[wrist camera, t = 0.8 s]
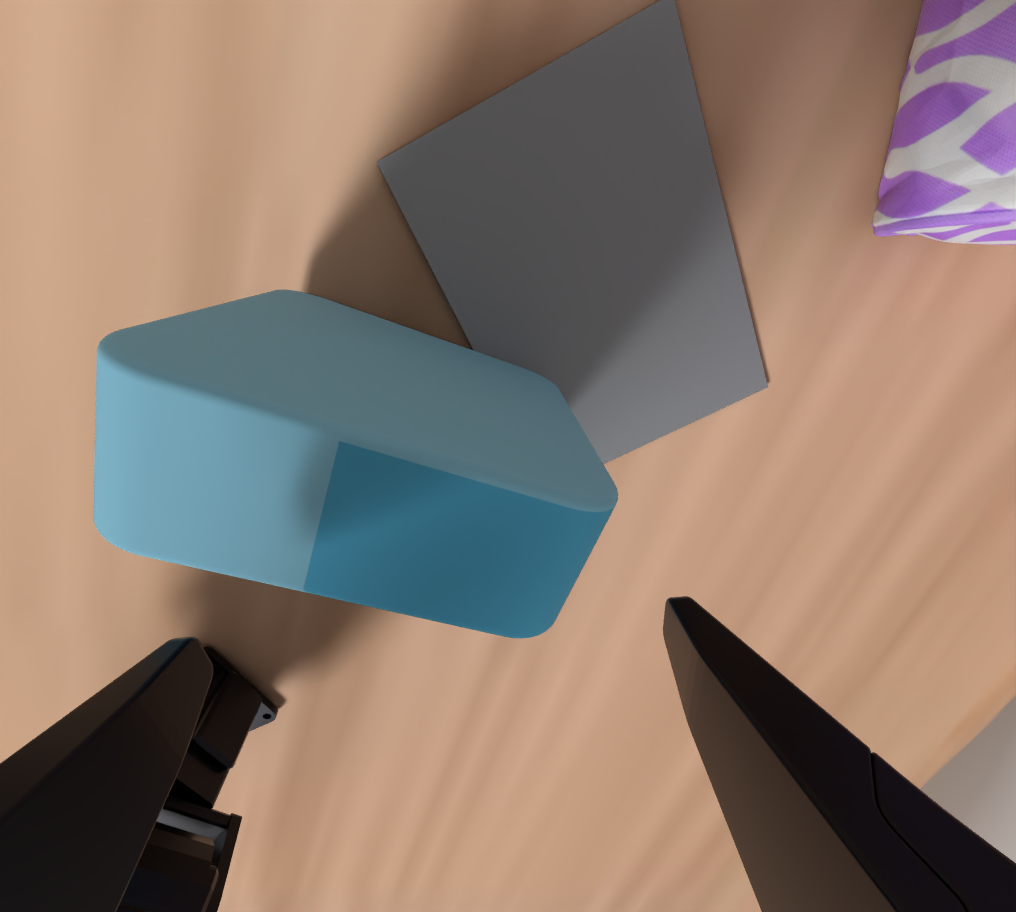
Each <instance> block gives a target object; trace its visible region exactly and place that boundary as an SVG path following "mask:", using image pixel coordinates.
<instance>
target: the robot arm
mask: <svg viewBox="0 0 1016 912" xmlns="http://www.w3.org/2000/svg"><path fill="white" fill-rule="evenodd" d="M663 635H664V640H665V644H666V648H667V651H668V655H669V659H670V662H671V666H672V669H673V673H674V677H675V680H676V684H677V687H678V691H679V695H680V698H681V702H682V705H683V709H684V712H685V716H686V719H687V722H688V725H689V728H690V730H691V733H692V736H693V738H694V741H695V743H696V746H697V749H698V751H699V754H700V756H701V759H702V761H703V764H704V766H705V769H706V771H707V774H708V776H709V779H710V782H711V784H712V787H713V789H714V792H715V794H716V797H717V799H718V802H719V804H720V807H721V809H722V812H723V814H724V817H725V820H726V822H727V825H728V827H729V830H730V832H731V835H732V837H733V840H734V842H735V845H736V847H737V850H738V852H739V855H740V858H741V860H742V863H743V865H744V868H745V870H746V873H747V875H748V878H749V880H750V883H751V885H752V888H753V890H754V893H755V896H756V898H757V901H758V903H759V906H760V908H761V911H762V912H1016V863H1015V862H1013V861H1012V860H1010V859H1009V858H1008V857H1007V856H1005V855H1004V854H1003V853H1001V852H1000V851H998V850H997V849H996V848H994V847H993V846H992V845H990V844H989V843H988V842H986V841H985V840H984V839H983V838H981V837H980V836H979V835H977V834H976V833H975V832H973V831H972V830H971V829H969V828H968V827H967V826H966V825H964V824H963V823H962V822H960V821H959V820H958V819H956V818H955V817H954V816H952V815H951V814H950V813H948V812H947V811H946V810H945V809H943V808H942V807H941V806H940V805H938V804H937V803H936V802H935V801H933V800H932V799H931V798H930V797H928V796H927V795H926V794H925V793H923V792H922V791H921V790H920V789H919V788H917V787H916V786H915V785H914V784H912V783H911V782H910V781H909V780H908V779H906V778H905V777H904V776H903V775H901V774H900V773H899V772H898V771H897V770H895V769H894V768H893V767H892V766H891V765H889V764H888V763H887V762H886V761H885V760H884V759H882V758H881V757H880V756H879V755H878V754H876V753H874V752H872V753H871V751H870V748H869V747H868V746H867V745H865V744H864V743H863V742H862V741H861V740H860V739H858V738H857V737H856V736H855V735H854V734H852V733H851V732H850V731H849V730H848V729H846V728H845V727H844V726H843V725H842V724H840V723H839V722H838V721H837V720H836V719H835V718H833V717H832V716H831V715H830V714H829V713H827V712H826V711H825V710H824V709H823V708H821V707H820V706H819V705H818V704H817V703H816V702H814V701H813V700H812V699H811V698H810V697H808V696H807V695H806V694H805V693H804V692H802V691H801V690H800V689H799V688H798V687H797V686H795V685H794V684H793V683H792V682H791V681H789V680H788V679H787V678H786V677H785V676H783V675H782V674H781V673H780V672H779V671H778V670H776V669H775V668H774V667H773V666H772V665H770V664H769V663H768V662H767V661H766V660H764V659H763V658H762V657H761V656H760V655H759V654H757V653H756V652H755V651H754V650H753V649H751V648H750V647H749V646H748V645H747V644H745V643H744V642H743V641H742V640H741V639H740V638H738V637H737V636H736V635H735V634H734V633H732V632H731V631H730V630H729V629H728V628H726V627H725V626H724V625H723V624H722V623H721V622H719V621H718V620H717V619H716V618H715V617H713V616H712V615H711V614H710V613H709V612H707V611H706V610H705V609H704V608H703V607H702V606H700V605H699V604H698V603H697V602H696V601H694V600H693V599H692V598H690V597H687V596H684V597H671V598H668V599H667V601H666V605H665V614H664V624H663ZM277 713H278V709H277V708H276V707H275V706H274V705H273V704H272V703H271V702H270V701H269V700H268V699H267V698H266V697H265V696H264V695H262V694H261V693H260V692H259V691H258V690H257V689H256V688H255V687H254V686H253V685H252V684H251V683H250V682H248V681H247V680H246V679H245V678H244V677H243V676H242V675H241V674H240V673H239V672H238V671H237V670H236V669H234V668H233V667H232V666H231V665H230V664H229V663H228V662H227V661H226V660H225V659H224V658H223V657H222V656H220V655H219V654H218V653H217V652H216V651H215V650H214V649H212V648H210V647H202V645H201V643H200V642H199V640H198V639H196V638H194V637H184V638H174V639H171V640H169V641H167V642H166V643H165V644H163V645H162V646H160V647H159V648H158V649H156V650H155V651H154V652H152V653H151V654H150V655H148V656H147V657H145V658H144V659H143V660H141V661H140V662H139V663H137V664H136V665H135V666H133V667H132V668H130V669H129V670H128V671H126V672H125V673H124V674H122V675H121V676H119V677H118V678H117V679H115V680H114V681H113V682H111V683H110V684H108V685H107V686H106V687H104V688H103V689H102V690H100V691H99V692H98V693H96V694H95V695H93V696H92V697H91V698H89V699H88V700H87V701H85V702H84V703H82V704H81V705H80V706H78V707H77V708H76V709H74V710H73V711H72V712H70V713H69V714H67V715H66V716H65V717H63V718H62V719H61V720H59V721H58V722H56V723H55V724H54V725H52V726H51V727H50V728H48V729H47V730H46V731H44V732H43V733H41V734H40V735H39V736H37V737H36V738H35V739H33V740H32V741H30V742H29V743H28V744H26V745H25V746H24V747H22V748H21V749H19V750H18V751H17V752H15V753H14V754H13V755H11V756H10V757H9V758H7V759H6V760H4V761H3V762H2V763H0V912H217V910H218V907H219V904H220V900H221V897H222V893H223V889H224V886H225V882H226V878H227V874H228V870H229V866H230V862H231V858H232V854H233V851H234V847H235V843H236V839H237V835H238V831H239V827H240V823H241V819H242V816H239V815H236V814H233V813H232V814H230V815H229V814H226V813H223V812H220V811H217V810H214V809H212V808H213V806H214V804H215V802H216V799H217V797H218V795H219V793H220V790H221V788H222V786H223V783H224V781H225V779H226V777H227V774H228V772H229V770H230V768H233V766H234V765H235V762H236V760H237V758H238V755H239V753H240V751H241V749H242V746H243V744H244V742H245V739H246V737H247V735H248V732H249V731H251V730H254V729H256V728H258V727H260V726H263V725H265V724H267V723H269V722H272V721H273V720H275V718H276V716H277Z"/></svg>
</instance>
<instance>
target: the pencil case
mask: <svg viewBox="0 0 1016 912" xmlns="http://www.w3.org/2000/svg"><path fill="white" fill-rule="evenodd" d="M878 195H879V204H878V206H877V208H876V210H875V213H874V217H873V221H872V227H873V228H874V234H875V235H876V236H893V235H903V234H905V235H921V236H923V237H926V238H929V239H933V240H938V241H942V242H950V243H966V244H990V245H1016V0H923V4H922V9H921V13H920V17H919V21H918V25H917V30H916V34H915V38H914V42H913V46H912V49H911V52H910V55H909V59H908V62H907V66H906V72H905V75H904V77H903V80H902V83H901V86H900V97H899V105H898V110H897V112H896V115H895V119H894V124H893V130H892V135H891V140H890V144H889V149H888V154H887V158H886V163H885V167H884V172H883V175H882V179H881V182H880V186H879V193H878Z"/></svg>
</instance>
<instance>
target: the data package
mask: <svg viewBox="0 0 1016 912" xmlns="http://www.w3.org/2000/svg"><path fill="white" fill-rule="evenodd" d="M617 500H618V492H617V488H616V486H615V484H614V482H613V480H612V478H611V477H610V475H609V473H608V472H607V470H606V468H605V467H604V465H603V463H602V461H601V460H600V458H599V456H598V455H597V453H596V451H595V449H594V448H593V446H592V444H591V443H590V441H589V439H588V438H587V436H586V434H585V432H584V431H583V429H582V427H581V426H580V424H579V422H578V421H577V419H576V417H575V415H574V414H573V412H572V410H571V409H570V407H569V405H568V404H567V402H566V400H565V398H564V397H563V395H562V393H561V392H560V390H559V388H558V387H557V386H556V385H555V384H554V383H552V382H551V381H550V380H548V379H546V378H545V377H543V376H541V375H539V374H537V373H534V372H532V371H530V370H527V369H525V368H522V367H519V366H516V365H513V364H511V363H508V362H505V361H502V360H499V359H496V358H493V357H491V356H488V355H485V354H482V353H479V352H476V351H473V350H471V349H468V348H465V347H462V346H459V345H456V344H453V343H451V342H448V341H445V340H442V339H439V338H436V337H434V336H431V335H428V334H425V333H422V332H419V331H416V330H414V329H411V328H408V327H405V326H402V325H399V324H396V323H394V322H391V321H388V320H385V319H382V318H379V317H376V316H374V315H371V314H368V313H365V312H362V311H359V310H357V309H354V308H351V307H348V306H345V305H342V304H339V303H337V302H334V301H331V300H328V299H325V298H322V297H319V296H315V295H311V294H308V293H303V292H298V291H292V290H275V291H271V292H267V293H263V294H259V295H255V296H251V297H248V298H244V299H240V300H236V301H232V302H228V303H224V304H220V305H216V306H212V307H208V308H204V309H200V310H196V311H192V312H189V313H185V314H181V315H177V316H173V317H169V318H165V319H161V320H157V321H153V322H149V323H145V324H141V325H137V326H133V327H130V328H126V329H122V330H118V331H115V332H113V333H111V334H109V335H107V336H106V337H105V338H103V339H102V340H101V341H100V343H99V345H98V348H97V374H96V419H95V464H94V510H93V516H94V523H95V526H96V528H97V530H98V531H99V533H100V534H101V535H102V536H103V537H104V538H105V539H106V540H107V541H108V542H110V543H111V544H113V545H114V546H116V547H118V548H120V549H122V550H125V551H127V552H130V553H133V554H136V555H140V556H144V557H149V558H153V559H158V560H162V561H167V562H171V563H176V564H180V565H185V566H189V567H194V568H198V569H203V570H207V571H212V572H216V573H221V574H225V575H230V576H234V577H239V578H243V579H248V580H252V581H257V582H261V583H266V584H270V585H275V586H279V587H284V588H288V589H293V590H297V591H302V592H306V593H311V594H315V595H320V596H324V597H329V598H333V599H338V600H342V601H347V602H351V603H356V604H360V605H365V606H369V607H374V608H378V609H383V610H387V611H392V612H396V613H401V614H405V615H410V616H414V617H419V618H423V619H428V620H432V621H437V622H441V623H446V624H450V625H455V626H459V627H464V628H468V629H473V630H477V631H482V632H486V633H491V634H495V635H500V636H504V637H510V638H529V637H534V636H537V635H540V634H541V633H543V632H545V631H546V630H548V629H549V628H550V627H551V626H552V625H553V623H554V622H555V620H556V618H557V616H558V614H559V612H560V610H561V609H562V607H563V605H564V603H565V601H566V599H567V597H568V595H569V593H570V591H571V589H572V588H573V586H574V584H575V582H576V580H577V578H578V576H579V574H580V572H581V570H582V568H583V566H584V565H585V563H586V561H587V559H588V557H589V555H590V553H591V551H592V549H593V547H594V545H595V544H596V542H597V540H598V538H599V536H600V534H601V532H602V530H603V528H604V526H605V524H606V523H607V521H608V519H609V517H610V515H611V513H612V511H613V509H614V507H615V505H616V503H617Z"/></svg>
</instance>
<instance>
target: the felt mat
mask: <svg viewBox="0 0 1016 912" xmlns="http://www.w3.org/2000/svg"><path fill="white" fill-rule="evenodd" d="M377 164H378V166H379V168H380V170H381V172H382V174H383V176H384V178H385V180H386V182H387V184H388V186H389V187H390V189H391V191H392V193H393V195H394V197H395V199H396V201H397V203H398V205H399V207H400V209H401V211H402V213H403V215H404V217H405V218H406V220H407V222H408V224H409V226H410V228H411V230H412V232H413V234H414V236H415V238H416V240H417V242H418V244H419V246H420V248H421V249H422V251H423V253H424V255H425V257H426V259H427V261H428V263H429V265H430V267H431V269H432V271H433V273H434V275H435V277H436V279H437V280H438V282H439V284H440V286H441V288H442V290H443V292H444V294H445V296H446V298H447V300H448V302H449V304H450V306H451V308H452V309H453V311H454V313H455V315H456V317H457V319H458V321H459V323H460V325H461V327H462V329H463V331H464V333H465V335H466V337H467V339H468V340H469V342H470V344H471V346H472V348H473V350H474V351H476V352H479V353H482V354H485V355H488V356H491V357H493V358H496V359H499V360H502V361H505V362H508V363H511V364H513V365H516V366H519V367H522V368H525V369H527V370H530V371H532V372H534V373H537V374H539V375H541V376H543V377H545V378H546V379H548V380H550V381H551V382H552V383H554V384H555V385H556V386H557V387H558V388H559V390H560V392H561V393H562V395H563V397H564V398H565V400H566V402H567V404H568V405H569V407H570V409H571V410H572V412H573V414H574V415H575V417H576V419H577V421H578V422H579V424H580V426H581V427H582V429H583V431H584V432H585V434H586V436H587V438H588V439H589V441H590V443H591V444H592V446H593V448H594V449H595V451H596V453H597V455H598V456H599V458H600V460H601V461H602V463H603V464H605V463H607V462H609V461H611V460H613V459H615V458H617V457H620V456H622V455H624V454H626V453H628V452H630V451H632V450H634V449H637V448H639V447H641V446H643V445H645V444H647V443H649V442H652V441H654V440H656V439H658V438H660V437H662V436H664V435H667V434H669V433H671V432H673V431H675V430H677V429H679V428H682V427H684V426H686V425H688V424H690V423H692V422H694V421H697V420H699V419H701V418H703V417H705V416H707V415H709V414H712V413H714V412H716V411H718V410H720V409H722V408H724V407H726V406H729V405H731V404H733V403H735V402H737V401H739V400H741V399H744V398H746V397H748V396H750V395H752V394H754V393H756V392H759V391H761V390H763V389H765V388H767V387H768V385H767V381H766V377H765V372H764V368H763V364H762V360H761V356H760V352H759V348H758V343H757V339H756V335H755V331H754V327H753V323H752V318H751V314H750V310H749V306H748V302H747V298H746V294H745V289H744V285H743V281H742V277H741V273H740V269H739V265H738V260H737V256H736V252H735V248H734V244H733V240H732V236H731V231H730V227H729V223H728V219H727V215H726V211H725V206H724V202H723V198H722V194H721V190H720V186H719V182H718V177H717V173H716V169H715V165H714V161H713V157H712V153H711V148H710V144H709V140H708V136H707V132H706V128H705V124H704V119H703V115H702V111H701V107H700V103H699V99H698V95H697V90H696V86H695V82H694V78H693V74H692V70H691V65H690V61H689V57H688V53H687V49H686V45H685V41H684V36H683V32H682V28H681V24H680V20H679V16H678V12H677V7H676V3H675V0H660V1H658V2H656V3H654V4H653V5H651V6H649V7H647V8H646V9H644V10H642V11H640V12H639V13H637V14H635V15H633V16H632V17H630V18H628V19H626V20H625V21H623V22H621V23H619V24H618V25H616V26H614V27H612V28H611V29H609V30H607V31H605V32H604V33H602V34H600V35H598V36H597V37H595V38H593V39H591V40H590V41H588V42H586V43H584V44H583V45H581V46H579V47H577V48H576V49H574V50H572V51H570V52H569V53H567V54H565V55H563V56H562V57H560V58H558V59H556V60H555V61H553V62H551V63H549V64H548V65H546V66H544V67H542V68H541V69H539V70H537V71H535V72H534V73H532V74H530V75H528V76H527V77H525V78H523V79H521V80H520V81H518V82H516V83H514V84H513V85H511V86H509V87H507V88H506V89H504V90H502V91H500V92H498V93H497V94H495V95H493V96H491V97H490V98H488V99H486V100H484V101H483V102H481V103H479V104H477V105H476V106H474V107H472V108H470V109H469V110H467V111H465V112H463V113H462V114H460V115H458V116H456V117H455V118H453V119H451V120H449V121H448V122H446V123H444V124H442V125H441V126H439V127H437V128H435V129H434V130H432V131H430V132H428V133H427V134H425V135H423V136H421V137H420V138H418V139H416V140H414V141H413V142H411V143H409V144H407V145H406V146H404V147H402V148H400V149H399V150H397V151H395V152H393V153H392V154H390V155H388V156H386V157H385V158H383V159H381V160H379V161H378V162H377Z"/></svg>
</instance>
